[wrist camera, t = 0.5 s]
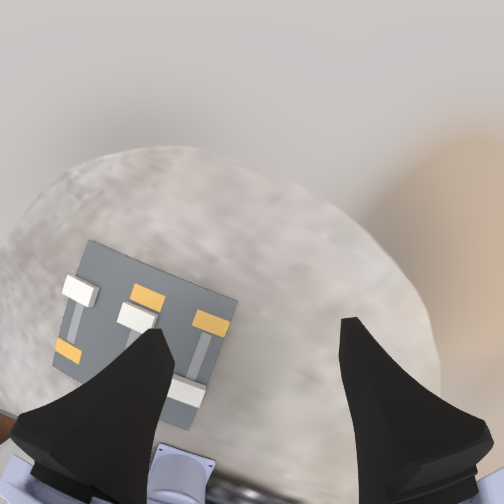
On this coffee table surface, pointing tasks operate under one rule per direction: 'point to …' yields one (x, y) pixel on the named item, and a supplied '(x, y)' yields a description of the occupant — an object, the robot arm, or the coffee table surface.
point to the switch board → (121, 337)
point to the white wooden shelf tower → (8, 444)
